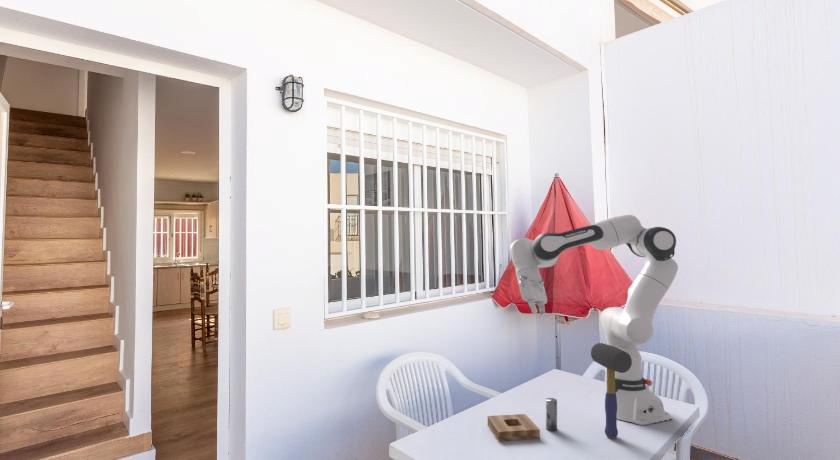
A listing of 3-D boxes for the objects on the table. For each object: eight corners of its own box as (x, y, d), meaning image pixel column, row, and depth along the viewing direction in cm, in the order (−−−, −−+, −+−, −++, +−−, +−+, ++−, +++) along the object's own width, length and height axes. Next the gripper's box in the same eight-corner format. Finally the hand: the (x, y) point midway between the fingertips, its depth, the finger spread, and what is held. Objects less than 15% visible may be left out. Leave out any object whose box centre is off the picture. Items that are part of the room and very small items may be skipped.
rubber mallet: (635, 445, 129) (634, 350, 130) (615, 447, 128) (614, 351, 128) (608, 427, 142) (607, 340, 142) (589, 429, 140) (588, 342, 141)
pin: (554, 426, 142) (554, 397, 143) (559, 431, 139) (558, 401, 139) (544, 427, 142) (544, 398, 142) (549, 431, 138) (548, 402, 139)
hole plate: (525, 422, 145) (525, 413, 145) (539, 438, 133) (539, 429, 134) (487, 424, 144) (487, 416, 144) (498, 441, 132) (498, 431, 132)
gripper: (527, 271, 148) (538, 309, 142) (544, 280, 164) (555, 313, 159) (511, 276, 151) (521, 313, 145) (530, 284, 167) (539, 317, 162)
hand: (539, 313), depth 152 cm, fingers open, 8 cm apart
